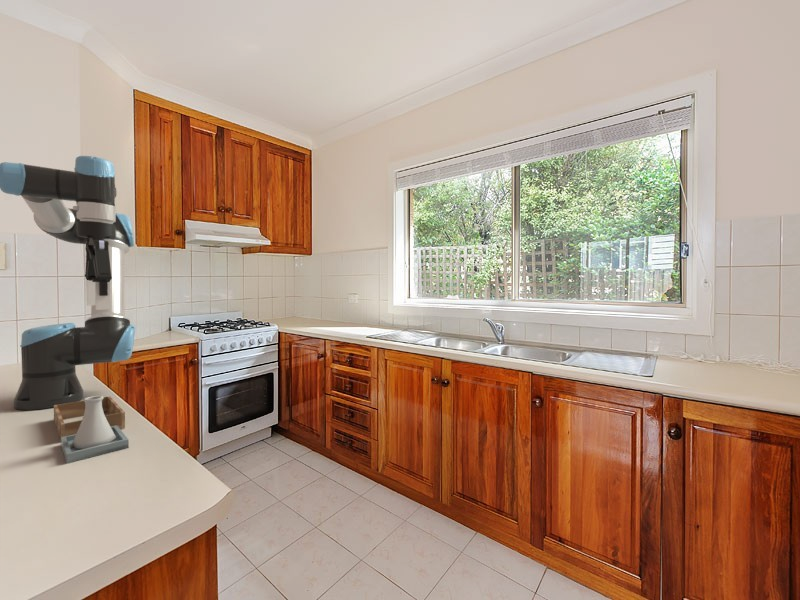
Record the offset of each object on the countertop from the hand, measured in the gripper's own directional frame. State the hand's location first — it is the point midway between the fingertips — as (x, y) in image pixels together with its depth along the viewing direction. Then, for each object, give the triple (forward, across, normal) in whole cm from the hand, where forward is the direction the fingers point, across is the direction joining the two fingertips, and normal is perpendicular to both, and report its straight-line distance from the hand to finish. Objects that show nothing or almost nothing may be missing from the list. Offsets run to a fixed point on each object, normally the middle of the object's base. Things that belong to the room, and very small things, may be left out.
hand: (98, 307), depth 93 cm
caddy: (+30, -1, -2) cm, 30 cm away
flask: (+28, +17, -3) cm, 33 cm away
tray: (+29, +17, -3) cm, 34 cm away
